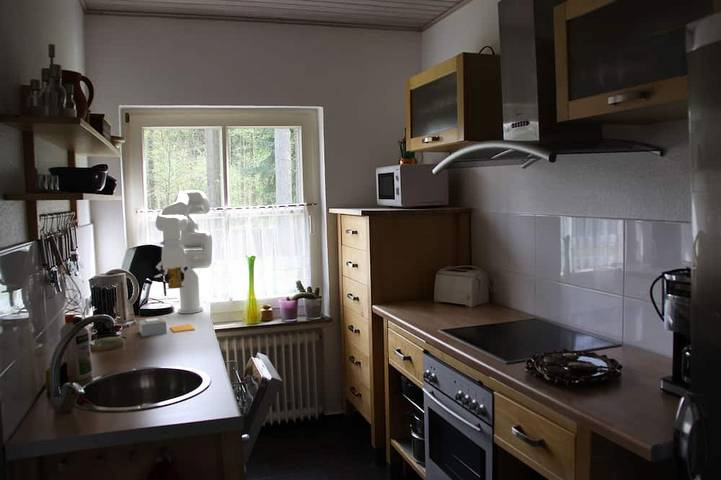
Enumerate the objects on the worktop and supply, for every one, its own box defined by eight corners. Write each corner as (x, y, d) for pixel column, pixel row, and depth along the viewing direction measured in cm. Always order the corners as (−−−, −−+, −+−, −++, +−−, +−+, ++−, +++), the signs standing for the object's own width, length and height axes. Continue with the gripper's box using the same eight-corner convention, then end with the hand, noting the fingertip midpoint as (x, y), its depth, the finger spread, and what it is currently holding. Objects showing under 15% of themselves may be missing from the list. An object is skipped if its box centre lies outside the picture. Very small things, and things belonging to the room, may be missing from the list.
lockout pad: (169, 327, 272) (169, 326, 272) (189, 325, 276) (189, 324, 276) (174, 332, 262) (174, 331, 262) (194, 329, 266) (194, 328, 266)
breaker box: (139, 331, 266) (138, 319, 266) (162, 328, 271) (162, 316, 270) (142, 336, 257) (141, 323, 257) (166, 333, 262) (165, 320, 261)
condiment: (164, 288, 275) (162, 262, 274) (175, 286, 283) (173, 261, 282) (177, 288, 272) (176, 262, 272) (188, 286, 281) (186, 260, 280)
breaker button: (145, 328, 265) (145, 319, 265) (157, 326, 267) (157, 317, 267) (147, 330, 260) (146, 321, 260) (159, 328, 263) (158, 319, 262)
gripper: (153, 245, 268) (156, 285, 270) (193, 242, 276) (195, 281, 278) (151, 243, 275) (153, 282, 276) (189, 241, 282) (191, 279, 284)
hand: (174, 281), depth 277 cm, fingers closed on condiment, 6 cm apart
